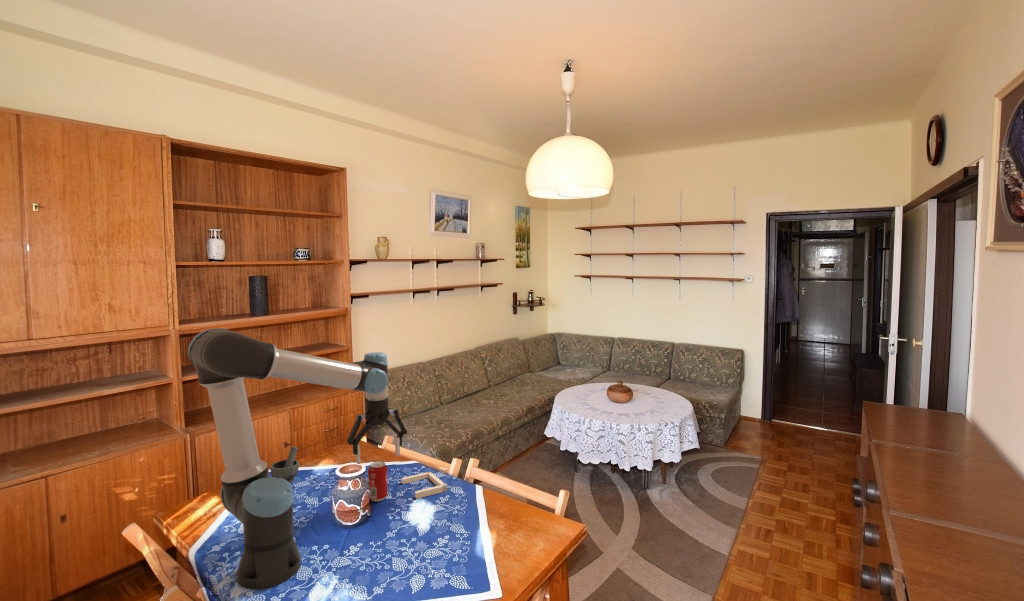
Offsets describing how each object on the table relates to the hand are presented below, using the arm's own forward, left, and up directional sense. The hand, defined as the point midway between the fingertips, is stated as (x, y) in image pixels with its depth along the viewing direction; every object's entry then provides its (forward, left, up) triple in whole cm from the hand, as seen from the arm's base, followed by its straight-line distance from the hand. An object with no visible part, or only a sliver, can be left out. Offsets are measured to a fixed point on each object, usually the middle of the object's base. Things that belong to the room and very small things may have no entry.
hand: (378, 459), depth 167 cm
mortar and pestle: (+32, +25, -14) cm, 43 cm away
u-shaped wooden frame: (0, -16, -14) cm, 21 cm away
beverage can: (0, 0, -14) cm, 14 cm away
